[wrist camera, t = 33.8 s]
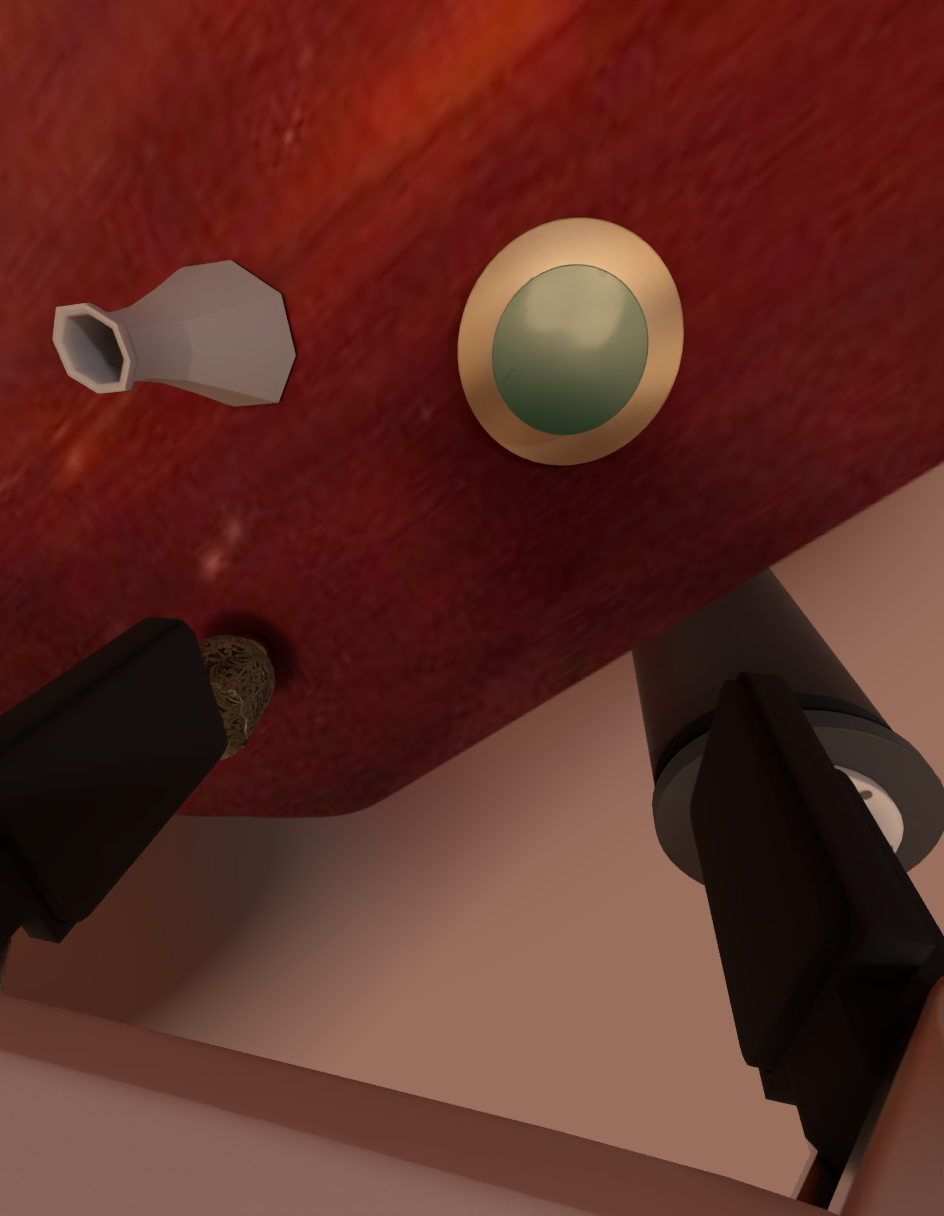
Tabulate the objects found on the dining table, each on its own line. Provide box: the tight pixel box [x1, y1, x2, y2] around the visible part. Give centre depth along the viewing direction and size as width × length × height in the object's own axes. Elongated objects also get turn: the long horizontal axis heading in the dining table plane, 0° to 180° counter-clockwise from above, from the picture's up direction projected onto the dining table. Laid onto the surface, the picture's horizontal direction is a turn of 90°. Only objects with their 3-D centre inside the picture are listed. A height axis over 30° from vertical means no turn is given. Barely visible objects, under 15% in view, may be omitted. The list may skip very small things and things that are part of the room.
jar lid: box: [492, 264, 648, 435], centre depth 25 cm, size 7×7×2 cm
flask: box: [53, 260, 296, 406], centre depth 24 cm, size 7×7×10 cm
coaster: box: [458, 217, 684, 466], centre depth 26 cm, size 11×11×1 cm
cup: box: [198, 632, 275, 760], centre depth 36 cm, size 8×7×8 cm
